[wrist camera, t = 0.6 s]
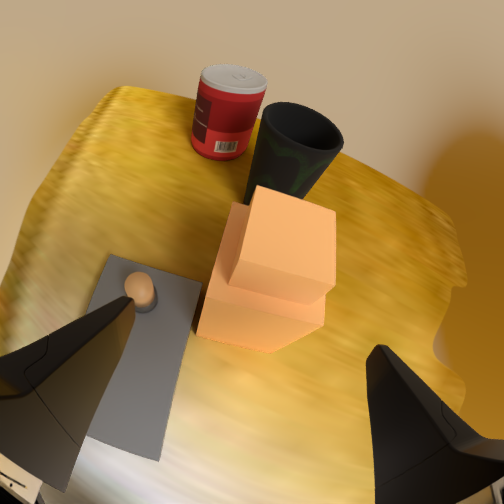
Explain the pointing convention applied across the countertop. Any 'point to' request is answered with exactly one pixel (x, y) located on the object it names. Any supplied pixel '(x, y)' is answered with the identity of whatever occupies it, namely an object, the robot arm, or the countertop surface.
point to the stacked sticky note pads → (270, 273)
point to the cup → (292, 150)
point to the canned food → (226, 110)
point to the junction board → (144, 355)
